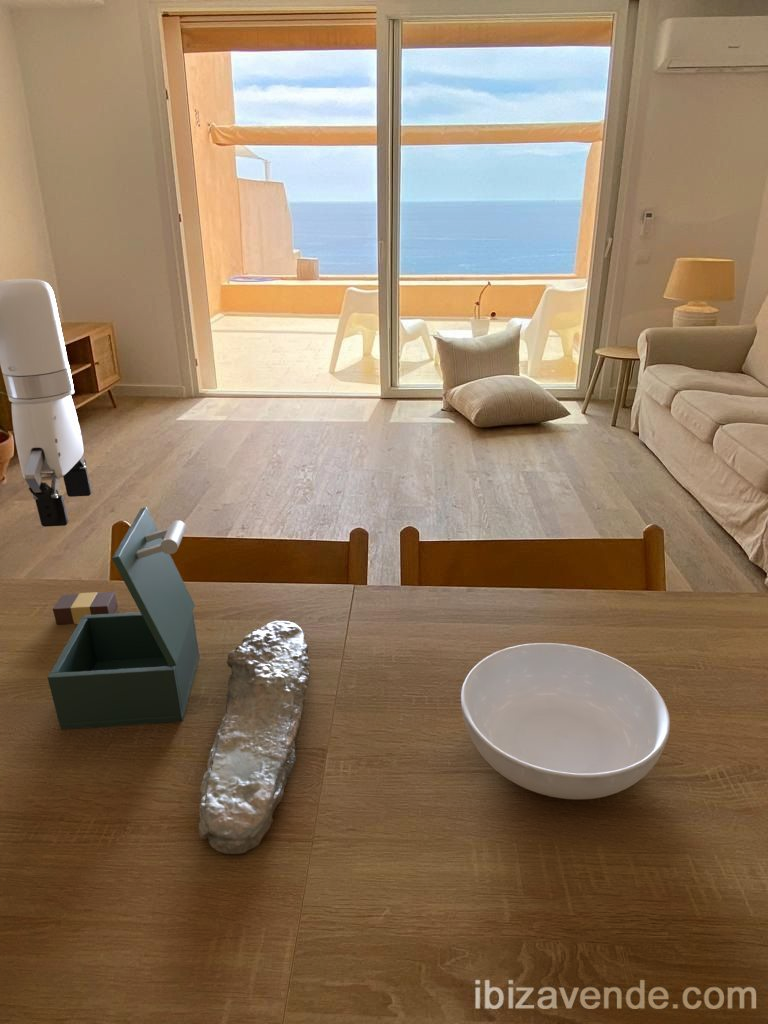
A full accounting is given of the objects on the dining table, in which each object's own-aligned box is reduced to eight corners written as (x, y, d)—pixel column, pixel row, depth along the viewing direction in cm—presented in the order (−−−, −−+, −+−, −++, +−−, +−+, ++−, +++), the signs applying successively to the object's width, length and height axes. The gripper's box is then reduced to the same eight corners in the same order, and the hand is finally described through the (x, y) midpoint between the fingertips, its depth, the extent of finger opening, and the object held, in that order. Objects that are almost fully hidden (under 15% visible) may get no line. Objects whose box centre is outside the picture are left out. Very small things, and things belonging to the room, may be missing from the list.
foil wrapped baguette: (175, 868, 64) (284, 871, 64) (169, 829, 61) (282, 833, 61) (244, 633, 95) (317, 636, 95) (242, 601, 92) (317, 604, 92)
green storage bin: (60, 729, 79) (47, 677, 76) (93, 662, 90) (82, 615, 87) (182, 721, 80) (173, 669, 77) (199, 656, 91) (192, 608, 88)
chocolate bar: (56, 625, 98) (52, 608, 97) (65, 609, 102) (62, 593, 101) (110, 622, 99) (107, 605, 98) (118, 606, 103) (114, 591, 102)
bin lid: (111, 558, 71) (161, 543, 70) (140, 508, 82) (183, 495, 82) (169, 667, 77) (215, 653, 76) (189, 606, 88) (229, 594, 88)
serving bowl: (497, 670, 88) (500, 624, 85) (673, 723, 78) (683, 673, 76) (427, 781, 71) (428, 729, 68) (640, 865, 62) (651, 808, 59)
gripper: (34, 369, 94) (61, 486, 101) (-24, 404, 78) (13, 540, 85) (91, 367, 94) (114, 484, 101) (45, 401, 79) (75, 536, 86)
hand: (68, 509), depth 93 cm, fingers open, 9 cm apart
